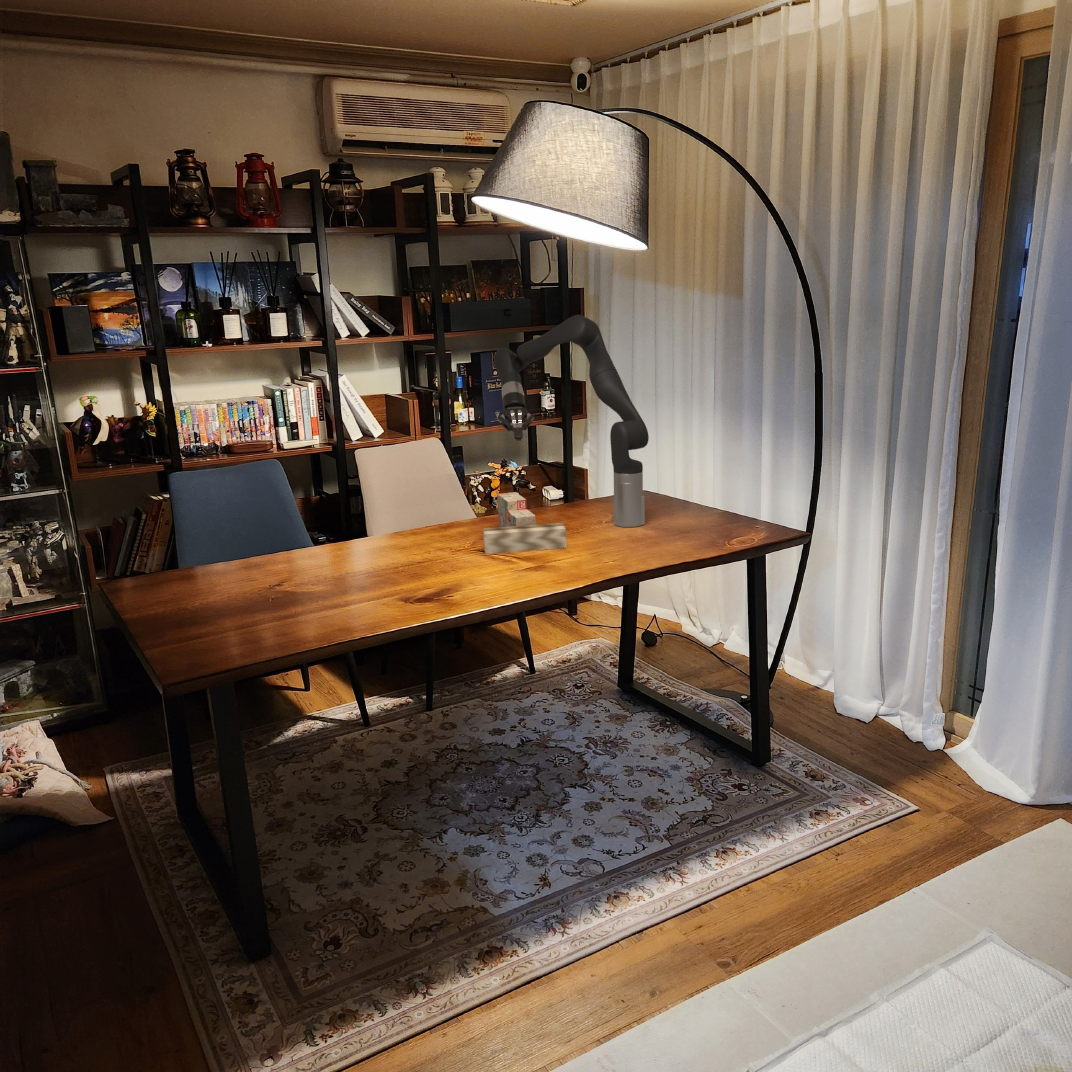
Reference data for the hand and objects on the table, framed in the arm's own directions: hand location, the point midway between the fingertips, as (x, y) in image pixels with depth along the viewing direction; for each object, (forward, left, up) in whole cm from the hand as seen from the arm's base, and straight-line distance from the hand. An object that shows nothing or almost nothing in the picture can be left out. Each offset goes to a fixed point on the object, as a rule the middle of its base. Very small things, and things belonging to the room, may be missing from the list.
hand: (518, 439), depth 307 cm
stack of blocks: (+5, +28, -26) cm, 39 cm away
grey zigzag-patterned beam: (+4, +42, -26) cm, 49 cm away
